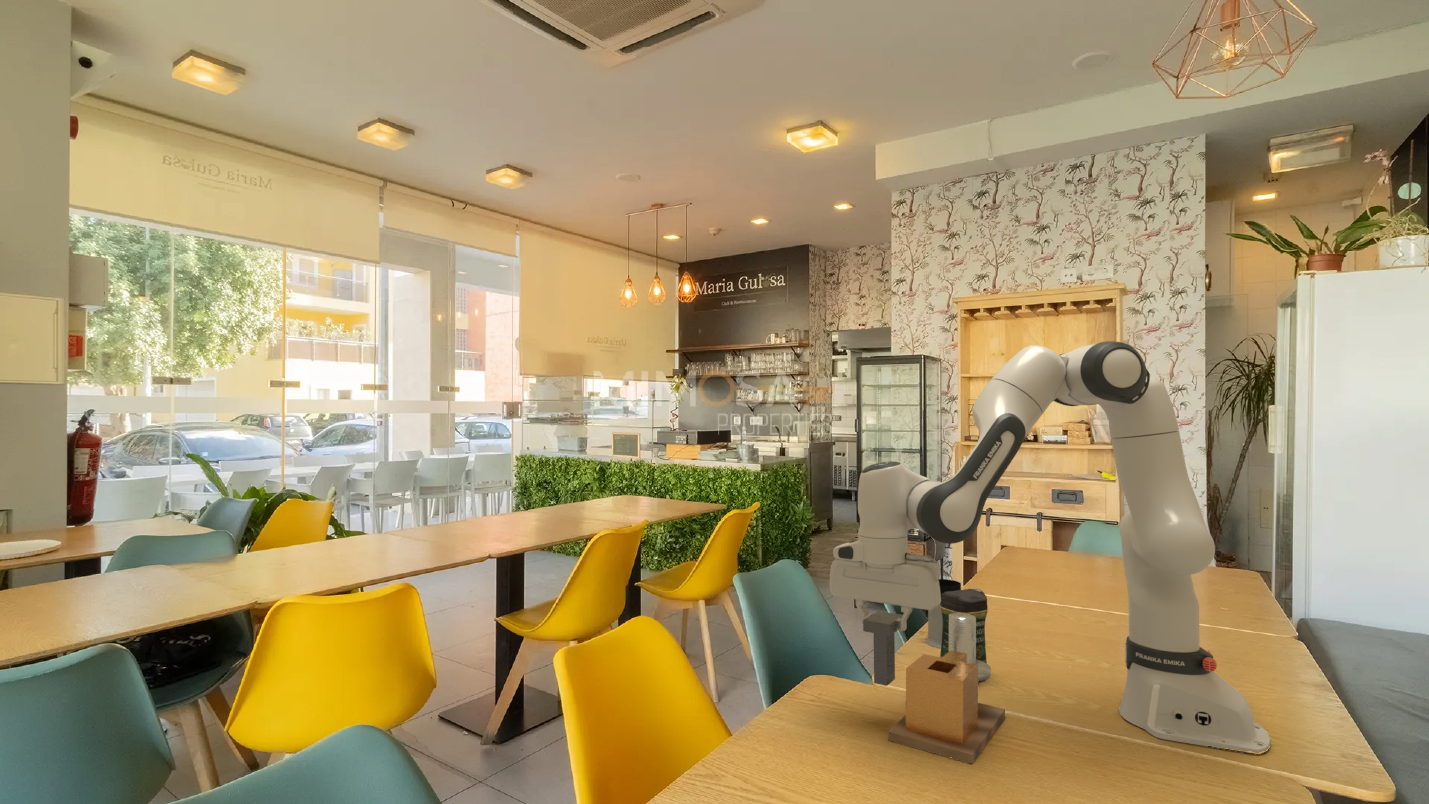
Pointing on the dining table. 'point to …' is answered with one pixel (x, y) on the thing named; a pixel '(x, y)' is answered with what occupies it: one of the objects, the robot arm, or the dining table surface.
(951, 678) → the wooden slotted box
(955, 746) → the walnut base board
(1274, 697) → the dining table surface
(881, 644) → the grey t-shaped block
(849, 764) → the dining table surface
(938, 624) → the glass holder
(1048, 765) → the dining table surface
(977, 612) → the coffee jar
